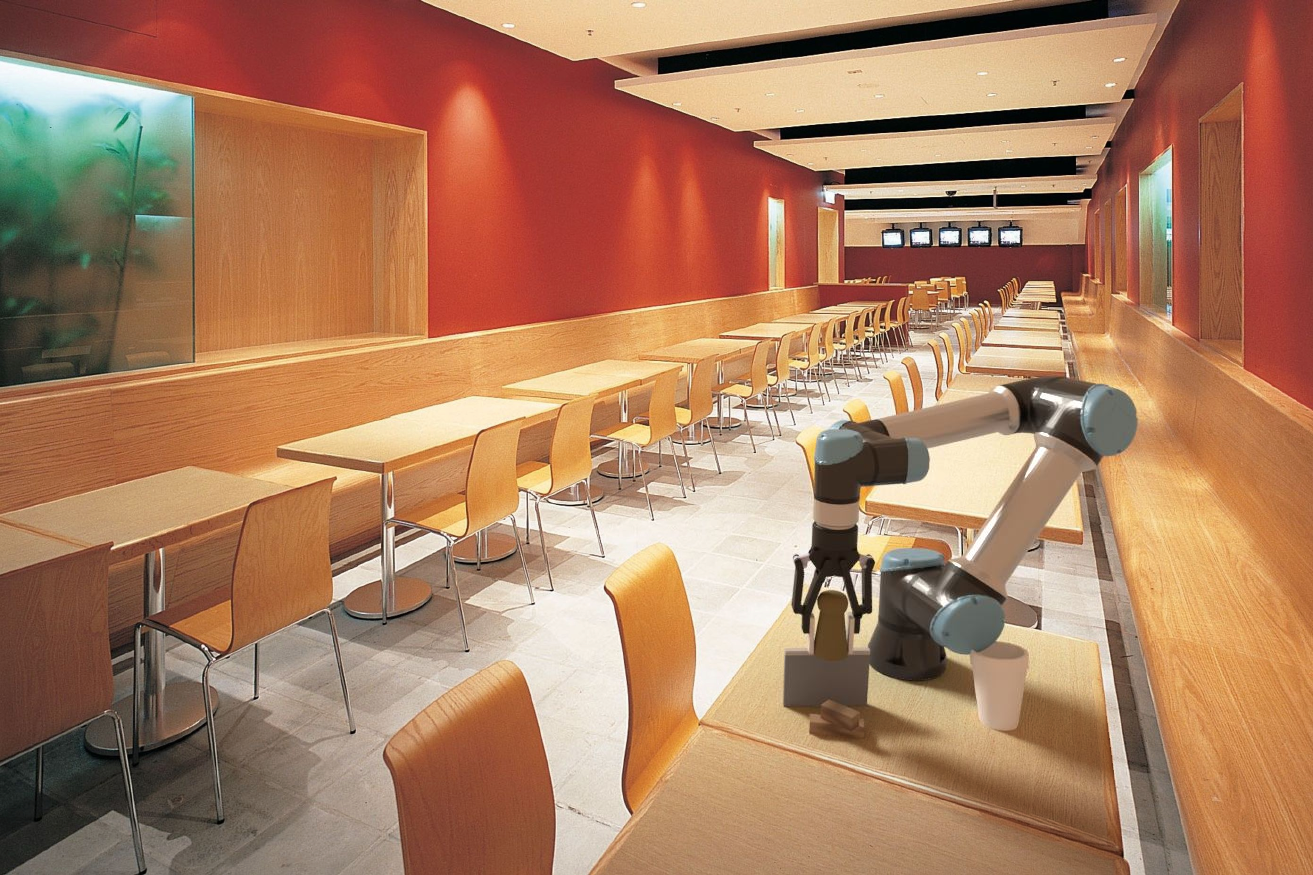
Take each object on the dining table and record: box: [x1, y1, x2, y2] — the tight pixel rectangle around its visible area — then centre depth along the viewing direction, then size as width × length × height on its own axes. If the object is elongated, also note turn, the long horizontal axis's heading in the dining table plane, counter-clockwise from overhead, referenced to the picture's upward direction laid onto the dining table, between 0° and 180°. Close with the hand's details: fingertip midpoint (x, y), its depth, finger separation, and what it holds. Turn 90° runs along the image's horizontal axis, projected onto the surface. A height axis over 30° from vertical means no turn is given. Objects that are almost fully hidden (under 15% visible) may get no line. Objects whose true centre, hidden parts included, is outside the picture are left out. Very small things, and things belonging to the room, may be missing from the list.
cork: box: [814, 589, 849, 661], centre depth 147 cm, size 6×6×11 cm
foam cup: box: [969, 640, 1030, 732], centre depth 149 cm, size 10×9×13 cm
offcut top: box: [820, 700, 860, 731], centre depth 146 cm, size 6×2×2 cm, turn 47°
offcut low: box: [808, 713, 865, 739], centre depth 147 cm, size 9×3×2 cm, turn 79°
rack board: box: [782, 646, 870, 707], centre depth 154 cm, size 15×1×11 cm, turn 91°
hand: (829, 649), depth 149 cm, fingers closed on cork, 6 cm apart
